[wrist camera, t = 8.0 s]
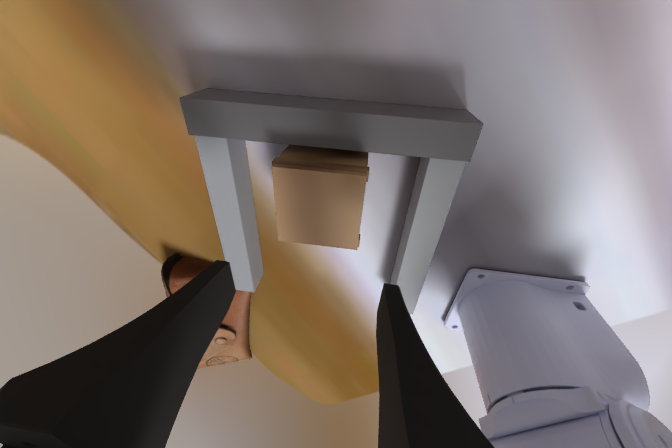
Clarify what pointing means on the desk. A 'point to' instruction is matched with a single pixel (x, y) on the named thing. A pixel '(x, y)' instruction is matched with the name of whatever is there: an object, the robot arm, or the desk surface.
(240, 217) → the bay
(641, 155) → the desk surface
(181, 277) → the sunglasses case
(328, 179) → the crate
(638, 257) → the desk surface
